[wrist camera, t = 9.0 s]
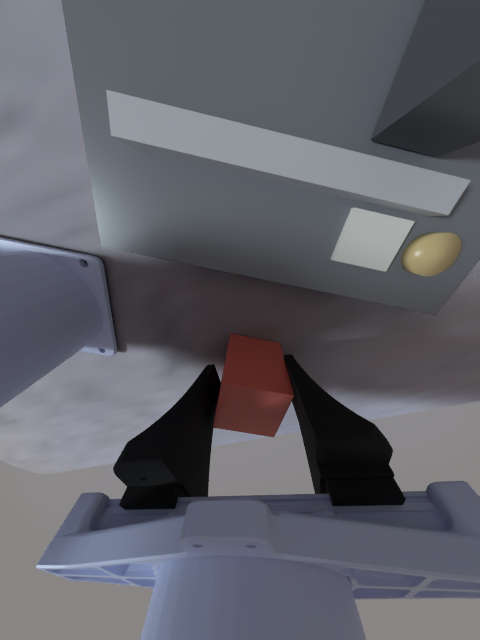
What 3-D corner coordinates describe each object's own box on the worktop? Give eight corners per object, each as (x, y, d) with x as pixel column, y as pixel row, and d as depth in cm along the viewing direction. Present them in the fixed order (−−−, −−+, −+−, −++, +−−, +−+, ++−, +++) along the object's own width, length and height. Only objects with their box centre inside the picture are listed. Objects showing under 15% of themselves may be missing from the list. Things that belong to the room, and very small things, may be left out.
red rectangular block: (223, 371, 16) (212, 427, 11) (230, 333, 14) (221, 383, 9) (266, 378, 16) (274, 437, 11) (279, 342, 14) (294, 395, 10)
